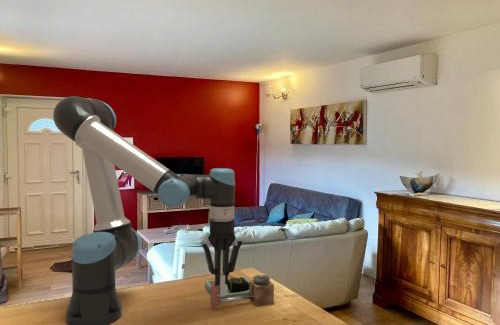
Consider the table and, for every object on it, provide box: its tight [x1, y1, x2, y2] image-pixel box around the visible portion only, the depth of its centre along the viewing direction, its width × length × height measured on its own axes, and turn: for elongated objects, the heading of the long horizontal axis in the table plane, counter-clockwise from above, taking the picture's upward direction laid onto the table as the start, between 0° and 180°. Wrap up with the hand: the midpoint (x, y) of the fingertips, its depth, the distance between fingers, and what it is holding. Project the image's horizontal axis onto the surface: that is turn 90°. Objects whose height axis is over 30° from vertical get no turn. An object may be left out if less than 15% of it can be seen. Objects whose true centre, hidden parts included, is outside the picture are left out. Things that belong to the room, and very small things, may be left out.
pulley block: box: [248, 274, 275, 307], centre depth 133 cm, size 6×6×8 cm
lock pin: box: [210, 282, 254, 310], centre depth 130 cm, size 14×4×7 cm, turn 112°
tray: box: [204, 276, 251, 299], centre depth 142 cm, size 15×15×2 cm
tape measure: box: [227, 276, 249, 292], centre depth 141 cm, size 7×7×4 cm
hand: (221, 294), depth 128 cm, fingers closed
